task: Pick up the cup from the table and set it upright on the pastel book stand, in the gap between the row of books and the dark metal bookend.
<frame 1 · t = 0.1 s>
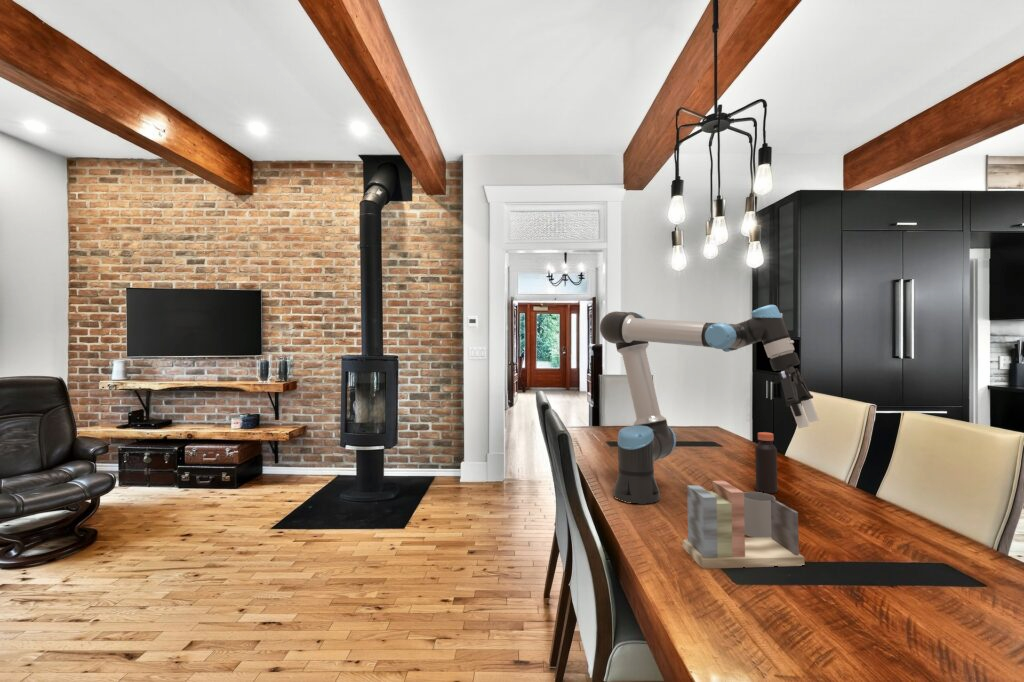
hand: (809, 424, 144), 28 cm above the table, tool tilted 20°, fingers open, 13 cm apart
bottle: (766, 491, 172), on the table
pastel book stand: (740, 556, 120), on the table
cup: (758, 533, 135), on the table
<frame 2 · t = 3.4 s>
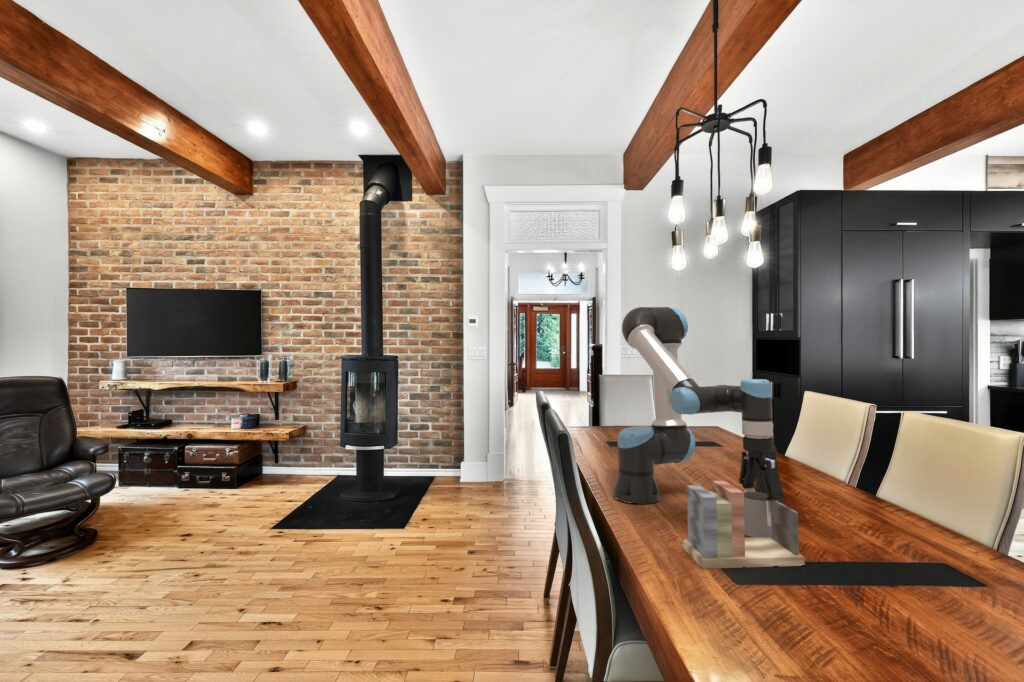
hand: (761, 518, 133), 4 cm above the table, tool pointing down, fingers open, 11 cm apart
cup: (759, 533, 134), on the table, touching gripper
everything else where it was.
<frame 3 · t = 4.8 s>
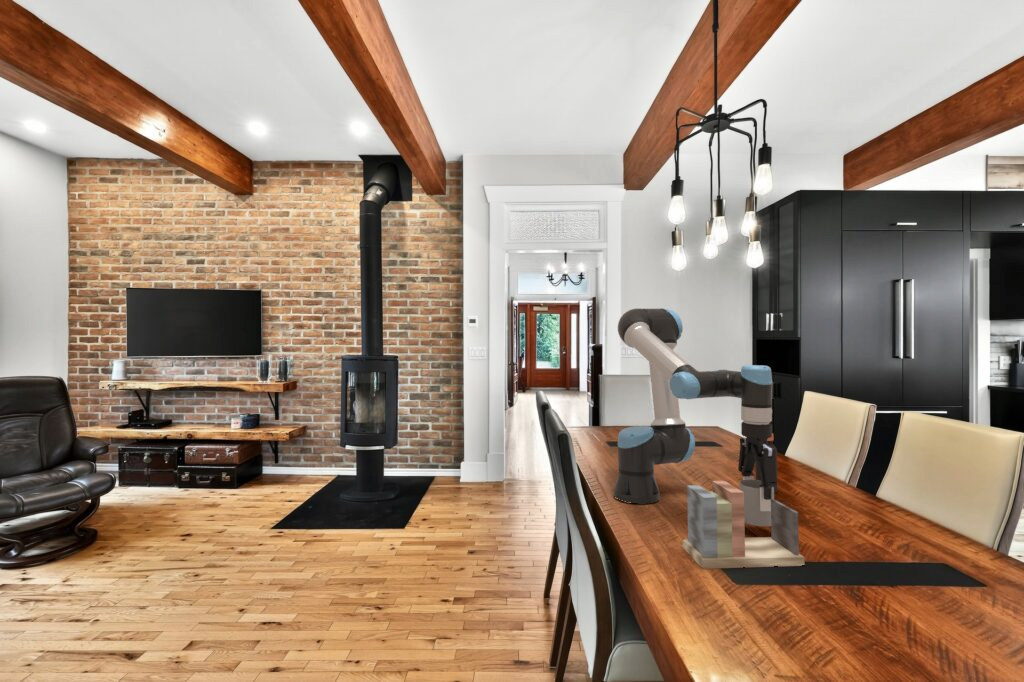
hand: (756, 504, 135), 7 cm above the table, tool pointing down, fingers closed on cup, 8 cm apart
cup: (756, 521, 135), point 3 cm above the table, touching gripper
everything else where it was.
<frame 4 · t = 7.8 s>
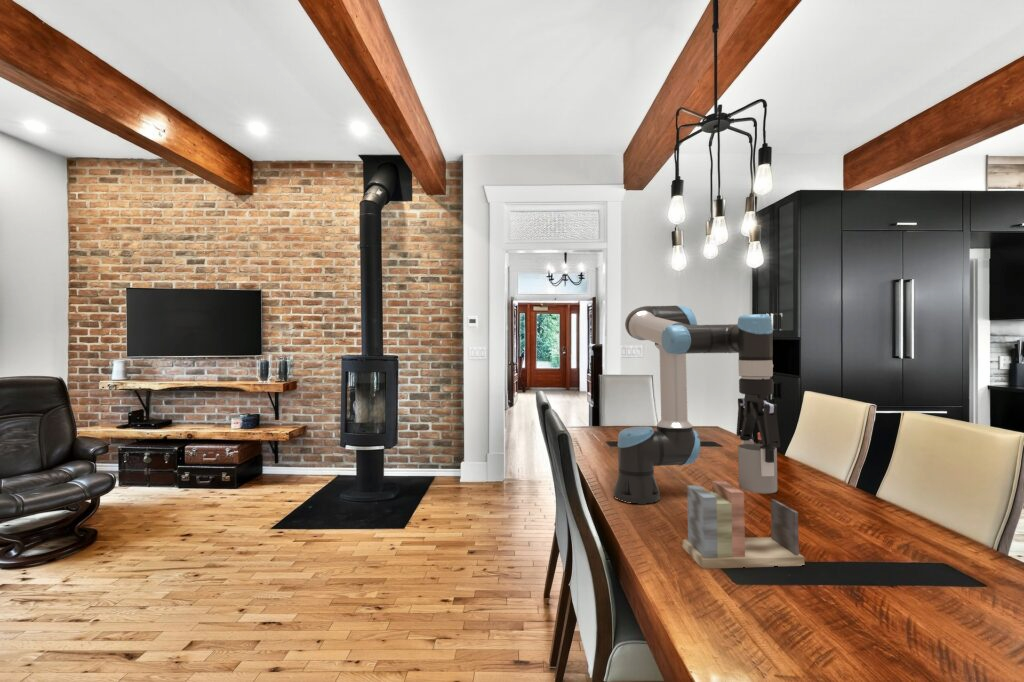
hand: (757, 470, 120), 21 cm above the table, tool pointing down, fingers closed on cup, 8 cm apart
cup: (757, 489, 120), point 16 cm above the table, touching gripper
everything else where it was.
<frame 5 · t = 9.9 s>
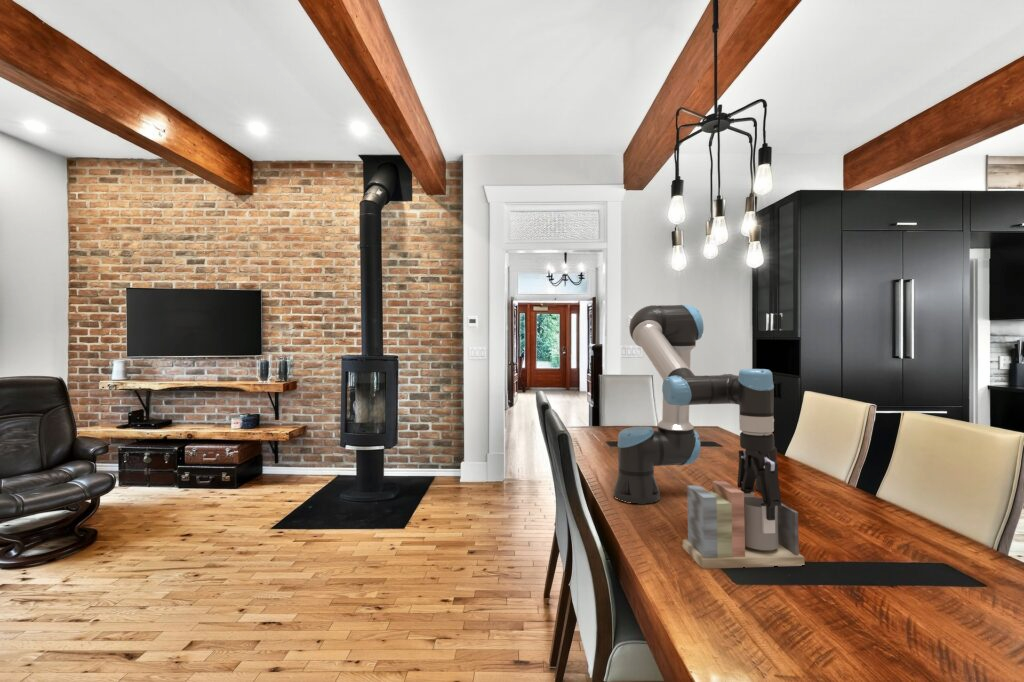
hand: (758, 525, 120), 7 cm above the table, tool pointing down, fingers closed on cup, 8 cm apart
cup: (758, 544, 120), point 3 cm above the table, touching gripper
everything else where it was.
when the fingers open (6 cm above the table, at t = 11.1 s): cup stays where it is, resting on pastel book stand.
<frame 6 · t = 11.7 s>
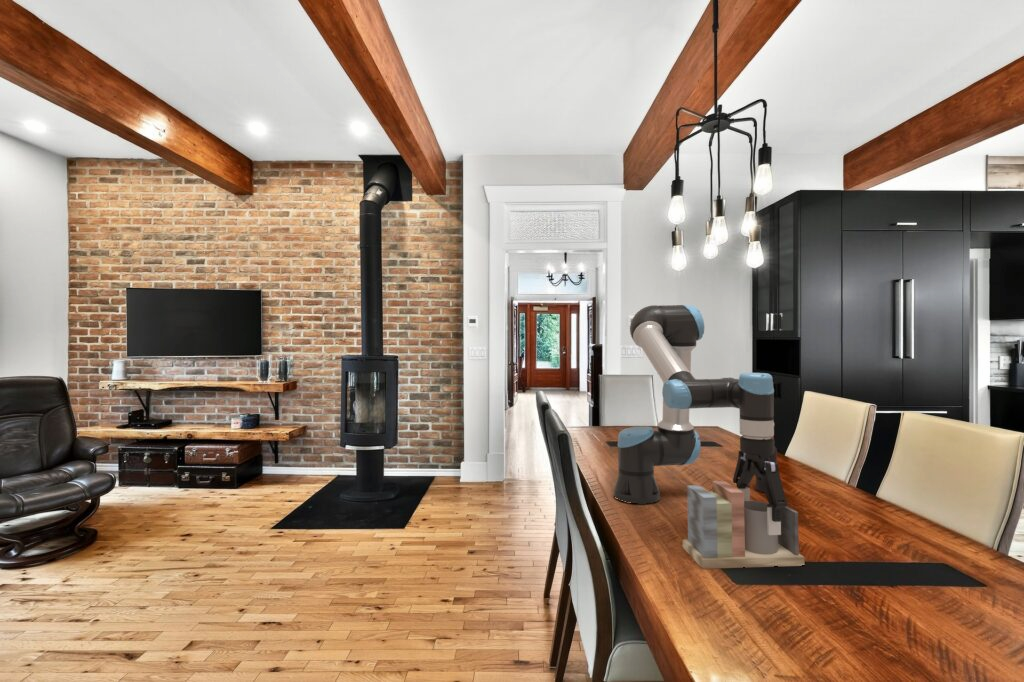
hand: (758, 523, 120), 8 cm above the table, tool pointing down, fingers open, 13 cm apart
cup: (758, 548, 120), point 2 cm above the table, touching pastel book stand
everything else where it was.
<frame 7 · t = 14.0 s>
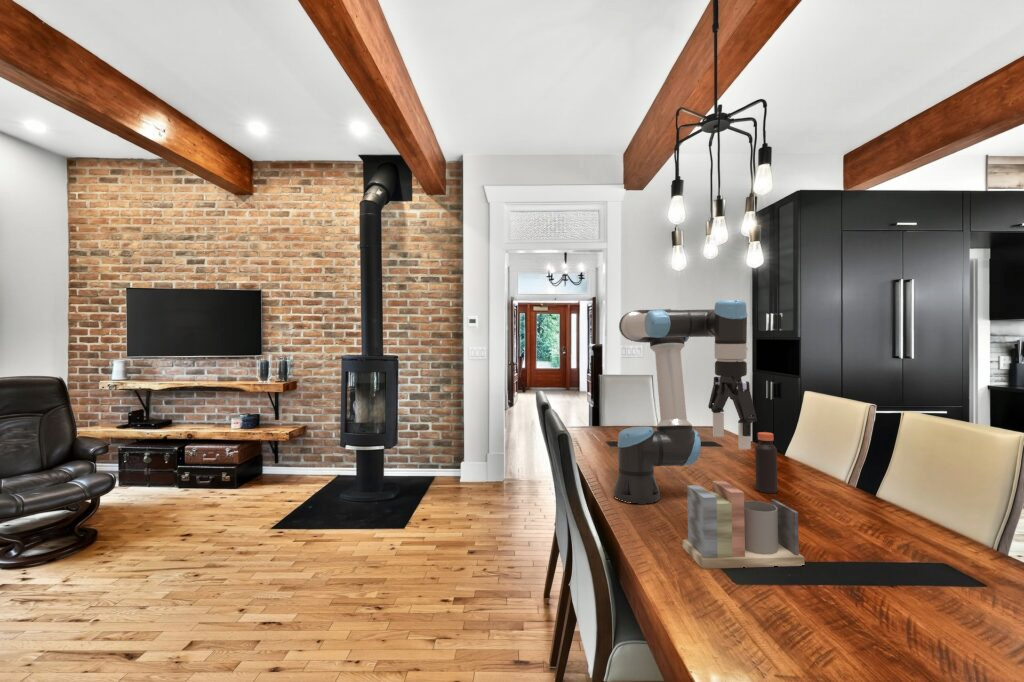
hand: (730, 442, 127), 26 cm above the table, tool pointing down, fingers open, 13 cm apart
nothing on the table moved.
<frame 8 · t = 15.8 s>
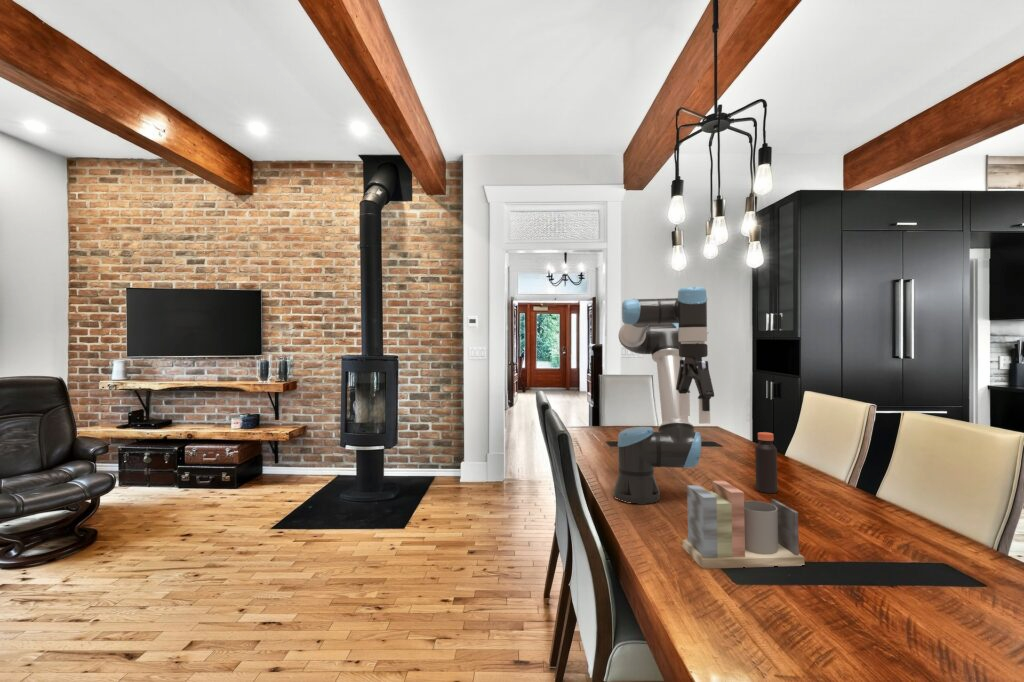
hand: (694, 419, 137), 31 cm above the table, tool pointing down, fingers open, 13 cm apart
nothing on the table moved.
at the end: cup 0.1 cm from the target spot on the pastel book stand, point 1.8 cm above the pastel book stand's base; cup tilted 0°; the gripper is holding nothing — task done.
